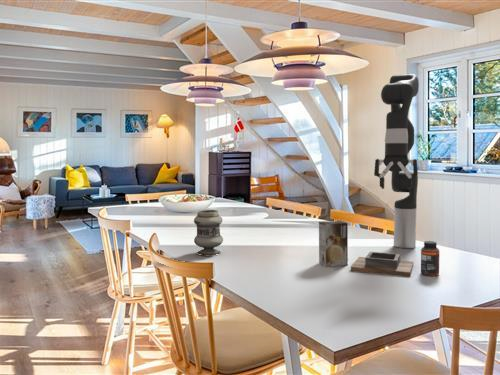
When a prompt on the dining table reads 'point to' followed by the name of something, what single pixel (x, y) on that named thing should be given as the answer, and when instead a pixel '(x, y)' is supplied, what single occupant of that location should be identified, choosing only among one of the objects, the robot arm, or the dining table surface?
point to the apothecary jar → (208, 231)
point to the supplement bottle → (430, 259)
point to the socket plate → (383, 264)
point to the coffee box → (333, 243)
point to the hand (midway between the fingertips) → (395, 188)
